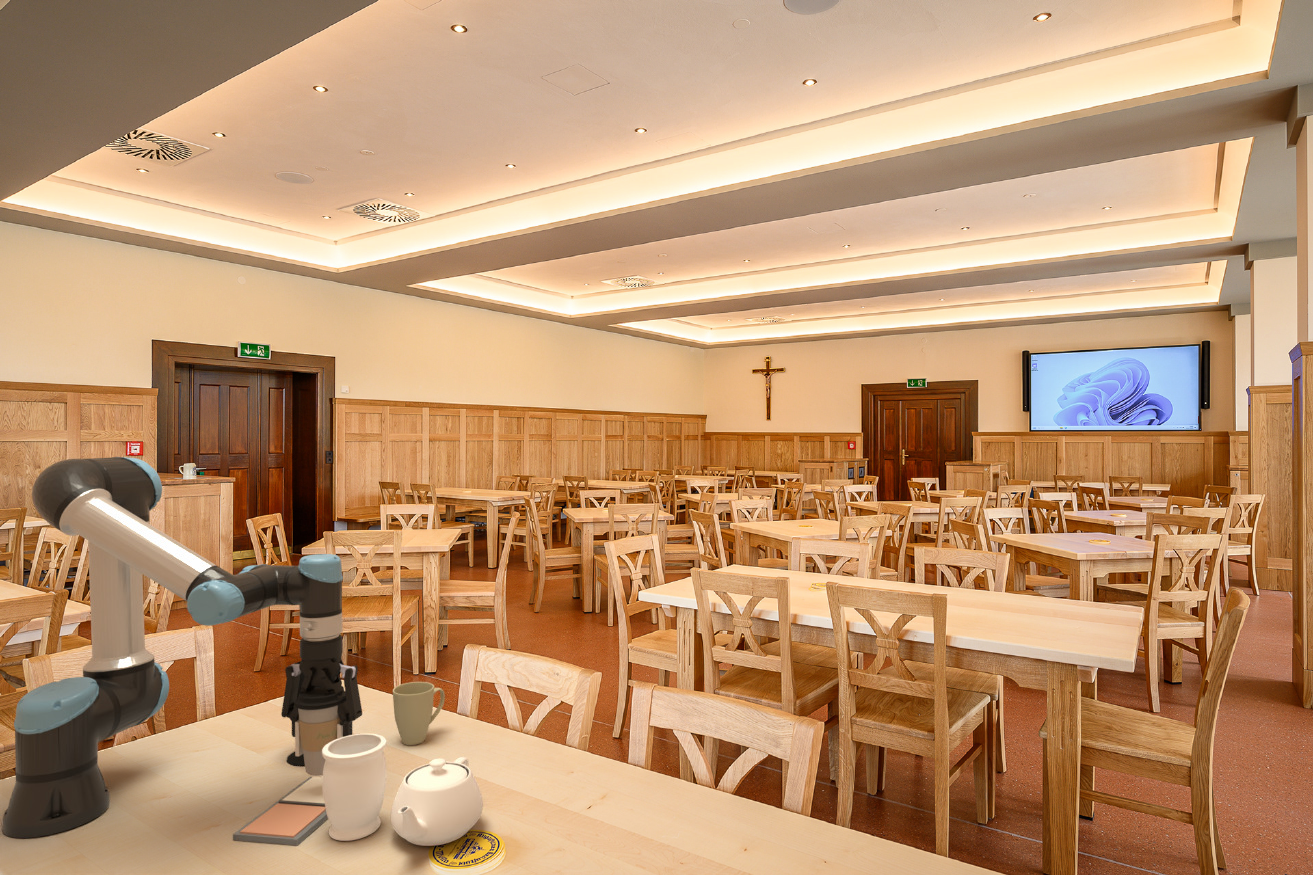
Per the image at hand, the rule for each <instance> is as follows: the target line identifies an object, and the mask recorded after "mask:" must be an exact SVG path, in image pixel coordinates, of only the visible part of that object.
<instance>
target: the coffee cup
mask: <svg viewBox="0 0 1313 875" xmlns="http://www.w3.org/2000/svg"><path fill="white" fill-rule="evenodd" d="M342 688H343V690H344V693H345V695H346V692H345V686H343V685H342ZM343 690H341V691H340V692H338V693H337V695H338V696H341V695H342V694H343ZM346 701H347V699H346V696H344V697H342V698H341V699H339V700H337V696H336V694H331V695H330V693H329V692H328V691H327V690H326V688H325V686H320V685H317V686H315V687H314V689H313V690H311V691H309V692H307V693H304V692H300V693H299V698H297V699H296V700H295V707H296V708H298V711H299V728H300V736H301V745H302V748H303V754H304V762H305V767H304V768H305V769H304V770H305V773H306V774H307V775H309V776H312V777H320V776H323V769H324V764H325V761H326V760H325V759H324V757H323V755H322V749H323V747H324V746H325V745H326V744H328V743H329V742H331V741H333V740H336V739H337V724H338V723H340V722H341V720H340V718H339V715H338V713H337V709H338V705H340V703H341V704H342V703H344V702H346Z"/></svg>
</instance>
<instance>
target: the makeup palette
mask: <svg viewBox="0 0 1313 875" xmlns="http://www.w3.org/2000/svg"><path fill="white" fill-rule="evenodd" d="M327 820H329V819H328V817H327V813H326V809H325V801H324V797H323V790H322V776H309V777H308V778H306V779H304V781H302V782H301V783H300V784H298V785H297V786H296V787H294V788H293V789H291V790H290V791H289V792H287V793H286V794H285V795H284V796H282V797H281V798H279V799H278V800H277V801H275V802H274V803H273V804H271V805H270V806H269V807H268V808H266V809H264V810H263V811H262V812H261V813H260V814H258V815H257V816H255V817H254V818H253V819H251V820H250V821H249V822H247V823H245V825H243V826H242V827H240V828H239V829H238V830H237V831H235V832H234V833H232V841H239V842H250V843H262V844H275V845H287V846H297V847H298V845H300V844H301V843H302V842H304V841H305V840H306V838H308V837H309V836H310V835H311V834H312V833H313V832H314V831H316V830H317V829H318V828H319V827H321V825H322V824H324V823H325V822H326V821H327Z"/></svg>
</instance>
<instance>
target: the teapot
mask: <svg viewBox="0 0 1313 875" xmlns="http://www.w3.org/2000/svg"><path fill="white" fill-rule="evenodd" d="M391 806H392V807H391V810H390V823H391V826H392V828H393V831H394V832H395V833H397V835H398V836H399V837H401V838H403V839H404V840H406V841H407V842H408V843H411V844H413V845H416V846H424V847H425V846H426V847H431V846H440V845H445V844H449V843H452V842H454V841H457V840H458V839H461V838H462V837H463V836H464V835H466V834H467V833H468V832H469V831H470V830H471V829H472V828H473V827H474V826H475V825H476V824H477V822H478V821H479V819H480V818H481V815H482V813H483V809H484V800H483V795H482V791H481V789H480V785H479V784H478V781H477V778H476V777H475V776H474V773H473V771H472V770H471V769H470V768H469V759H468V758H467V757H465V756H460V757H458V758H457V759H455V760H454V761H447V760H446V759H445V758H434V759H431V761H429V763H425V764H423V765H420V766H417V767H415V768H414V769H412V770H410V771H409V772H408V773H406V775H405V776H404V777H403V779H402V781H401V783H400V786H399V787H398V790H397V793H396V795H395V798H394V800H393V802H392V805H391Z"/></svg>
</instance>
